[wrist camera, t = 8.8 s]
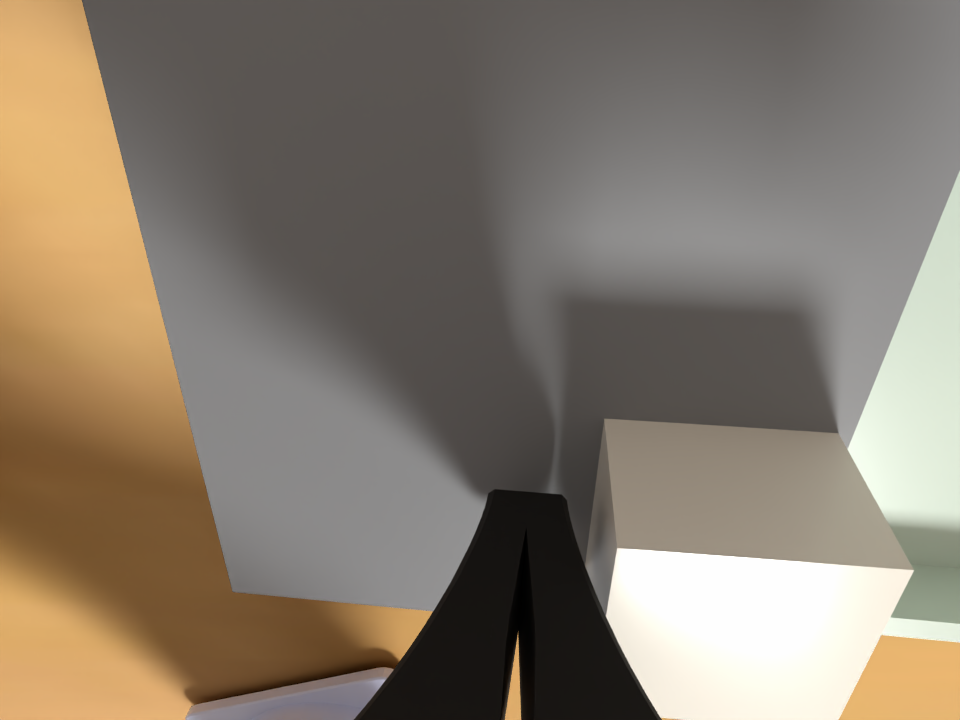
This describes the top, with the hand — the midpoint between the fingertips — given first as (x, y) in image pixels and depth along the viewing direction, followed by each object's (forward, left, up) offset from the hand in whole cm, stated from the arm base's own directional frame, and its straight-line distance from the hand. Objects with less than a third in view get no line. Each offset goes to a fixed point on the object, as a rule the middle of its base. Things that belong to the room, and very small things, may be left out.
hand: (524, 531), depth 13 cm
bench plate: (+3, -1, -3) cm, 4 cm away
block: (-1, -3, +1) cm, 3 cm away
